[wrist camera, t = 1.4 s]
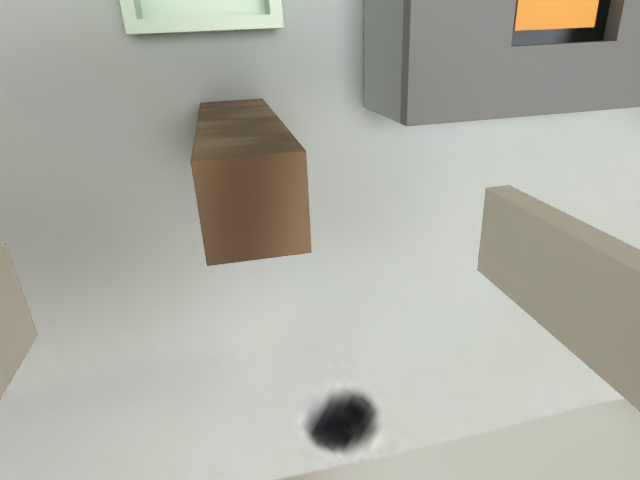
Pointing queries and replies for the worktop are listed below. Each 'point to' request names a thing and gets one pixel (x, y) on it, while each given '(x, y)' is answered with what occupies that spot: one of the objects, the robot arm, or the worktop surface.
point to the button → (554, 14)
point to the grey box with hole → (494, 61)
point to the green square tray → (199, 15)
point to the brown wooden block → (249, 183)
